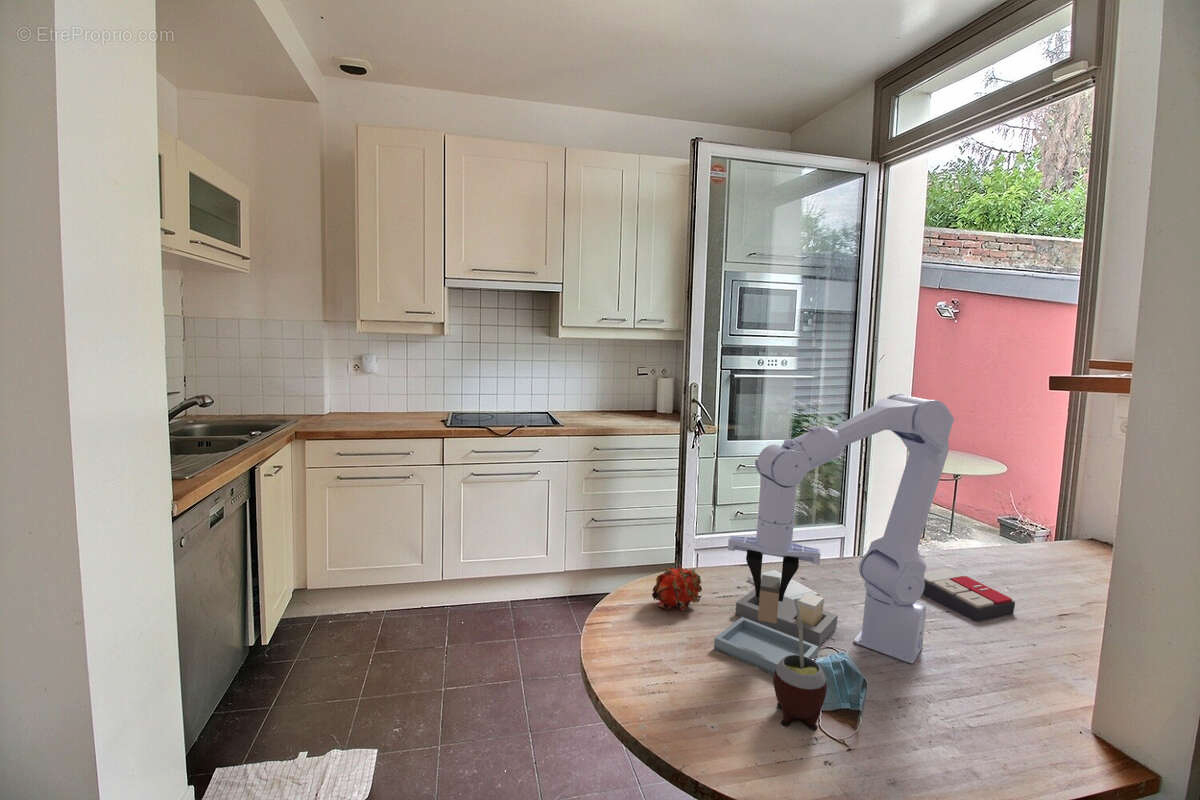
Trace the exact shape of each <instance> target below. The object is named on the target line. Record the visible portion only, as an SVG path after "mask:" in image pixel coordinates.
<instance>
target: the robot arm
mask: <svg viewBox="0 0 1200 800" xmlns="http://www.w3.org/2000/svg"><path fill="white" fill-rule="evenodd" d="M954 421H955V418H954V417H953V415H952V413H951V411H950V409H949V408H948V407H947V405H946V404H945V403H944V402H942V401H941V400H937V399H926V398H921V397H916V396H909V395H905V394H903V393H893V394H890V395H889V396H887V397H886V398H885V397H884V398H880V399H878V400H877V402H876V403H875V404H874V405H872V406H871V407H868V408H867V409H865V410H863V411H861V412H860V413H857V414H856V415H854V416H852V417H850V418H849V419H847V420H845V421H843V422H842V423H840V424H837V425H836V426H834V427H833V428H830V427H828V426H825V425H820V426H818V425H817V424H816V425H814V424H813V425H811V426H810V427H808V431H807V432H805V433H803V434H800V435H799V436H796V437H794V438H787V439H784V441H783V443H782V445H779V444H770V445H769V444H768V445H767V446H765V447H763V449H762V450H761V452H760V453H759V454H758V456H757V459H755V460H754V464H755V469H756V471H757V472H758V474H759V477H760V478H759V479H760V482H759V483H760V484H759V485H760V486H759V496H758V508H757V509H758V510H757V511H758V512H757V522H756V523H757V525H756V536H739V535H738V536H737V535H735V536H734V535H729V538H728V545H727V551H732V552H735V551H739V552H740V551H741V552H746V555H745V556H746V557H745V559H746V564H747V565H748V568H749V571H750V573H751V575H752V577H753V580H754V589H755V591H756V597H760V585H761V573H762V568H763V567H762V566H763V557H764V556H763V555H765V556H766V555H767V556H771V557H772V556H773V557H778V558H782V568H781V574H782V577H781V583H780V589H779V601H781V602H783V597H784V594H785V591H786V588H787V586H788V584H789V582H790V580H791V579H792V578H793V577H794V575H795V574H796V573H797V571H798V569H799V565H800V561H803V562H804V561H805V562H809V563H812V564H813V565H820V563H821V562H820V561H821V549H820V548H814V547H810V546H807V545H803V544H798V543H795V542H793V539H794V538H793V537H794V525H795V512H796V502H797V501H796V500H797V499H796V498H797V487H798V485H799V484H800V483H802V481H803V480H804V478H805V476H806V475H807V473H808V472H810V471H812V470H815V469H816V468H819V467H820V466H822V465H825V464H826V463H828V462H831V461H833V460H835V459H837V458H839V457H840V455H841V454H842V451H843V447H846V446H848V445H851V444H853V443H855V442H858V441H860V440H863V439H866V438H868V437H870V436H873V435H876V434H878V433H880V432H883V431H891V432H892V433H893V434H895V435H896V436H897V437H898V438H899V439H901V441H902V442H903V444H904V446H905V447H906V449H907V451H908V452H909V453H908V457H907V460H906V462H905V465H904V466H905V467H904V469H903V473H902V476H901V479H900V483H899V485H898V489H897V493H896V494H895V495H896V496H895V498H894V501H893V505H892V507H891V511H890V514H889V518H888V520H887V523H886V526H885V529H884V532H883V536H882V537H879V538H877V539H875V540H873V541H871V542H870V544H869V547H868V549H867V551H866V553H865V554H864V555H863V556H862V558H861V559H860V561H859V566H858V571H859V575H860V577H861V578H862V579H863V580H864V588H865V597H864V598H865V599H864V608H863V609H864V610H863V618H862V625H861V626H862V627H861V630H860V632H859V633H858V634H857V635H856V637H855V638H854V639H853V642H854V644H857V645H860V646H862V647H865V648H868V649H871V650H873V651H876V652H879V653H881V654H884V655H886V656H887V655H888V656H890V657H892V658H895V659H897V660H899V661H904V662H906V663H908V664H914V662H915V661H916V659H917V657H918V655H919V653H920V651H921V650H922V648H923V647H924V635H925V634H924V633H925V625H926V624H925V623H926V616H927V609H926V608H927V607H926V606H925V605H923V604H920V603H918V602H917V601H918V600H919V599H920V598H921V597H922V596H923V595H922V593H923V591H924V587H925V581H924V573H925V572H926V569H927V565H926V562H925V560H924V558H923V557H922V555H921V553H920V551H919V549H918V548H919V545H920V541H921V539H922V536H923V533H924V529H925V526H926V523H927V520H928V517H929V513H930V510H931V507H932V505H933V504H932V503H933V501H934V498H935V495H936V492H937V489H938V485H939V482H940V479H941V477H942V473H943V470H944V466H945V463H946V460H947V457H948V455H949V449H950V448H949V447H950V446H949V445H950V444H949V440H950V439H949V437H950V434H951V430H952V428H953V424H954ZM792 580H793V579H792Z"/></svg>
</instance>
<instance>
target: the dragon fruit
mask: <svg viewBox="0 0 1200 800" xmlns="http://www.w3.org/2000/svg"><path fill="white" fill-rule="evenodd" d="M655 581H656V583H655V585H654V586H653V588H652V591H651V592H652V594H651V596H652V598H653V601H659V602H658V603H657V607H658V608H659V609H660V608H663V609H665V610H667V609H668V610H669V609H670V608H673V607H675V608H677V609H679V610H680V611H681V612H684V611H685V610H687V609H688V608H689V606H690V604H691V602H692V603H695V604H696V603H699V602H700V599H701V598H702V594H700V595H699V593H701V592H702V590H703V587H702V586H701V584H702V579H701V575H699V574H698V573H697V572H696V570H695V569H693V568H689V569H687V568H683V567H682V565H680V564H679V565H677V568H674V567H668V568H667V569H666V570H665V571H664V572H662V573H661V574H659V575H658V576H657V577H656V578H655Z"/></svg>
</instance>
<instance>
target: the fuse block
mask: <svg viewBox="0 0 1200 800" xmlns="http://www.w3.org/2000/svg"><path fill="white" fill-rule="evenodd" d="M758 610H759V597H756V591H755V588H754V589H753V590H751V591H749V592H748V593H747V594H745V595H744V596H743V597H741V598H740V599H739V600H738V601H736V602H735V615H736V616H738V617H740V618H741V617H744V618H746V619H749V620H751V621H754V622H757V623H759V624H762V625H764V626H767V627H770V628H772V629H775V630H777V631H780V632H782V633H785V634H788V635H790V636H793V637H795V638H798V639H799V628H798V624H797V621H798V620H797V611H796V607H795V602H794V600H792V599H790V598H787V597H783V602H781V601H778V613H777V624H776V623H771V622H766V621H761V620H758ZM837 625H838V614H836V613H833V612H830V611H827V610H824V609H823V615H822V621H821V622H820V623H819V624H818V625H817V626H816V627H814V626H812V625H809V624H806V623H803V628H802V630H803V641H806V642H808V643H811V644H814V645H816V646H818V648H820V647H821V645H822V644H823V643H824V642H825V641H826V640H827V639H828V638H829V636H830V635H831V634H833V632H834V631H835V630H836V629H837V628H838V627H837Z"/></svg>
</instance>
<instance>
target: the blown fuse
mask: <svg viewBox="0 0 1200 800" xmlns="http://www.w3.org/2000/svg"><path fill="white" fill-rule="evenodd" d="M779 589H780V578H779V577H773V576H767V575H762V579H761V585H760V597H759V604H758V606H759V610H758V620H761V621H766V622H771V623H776V624H777V613H778V601H779Z"/></svg>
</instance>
